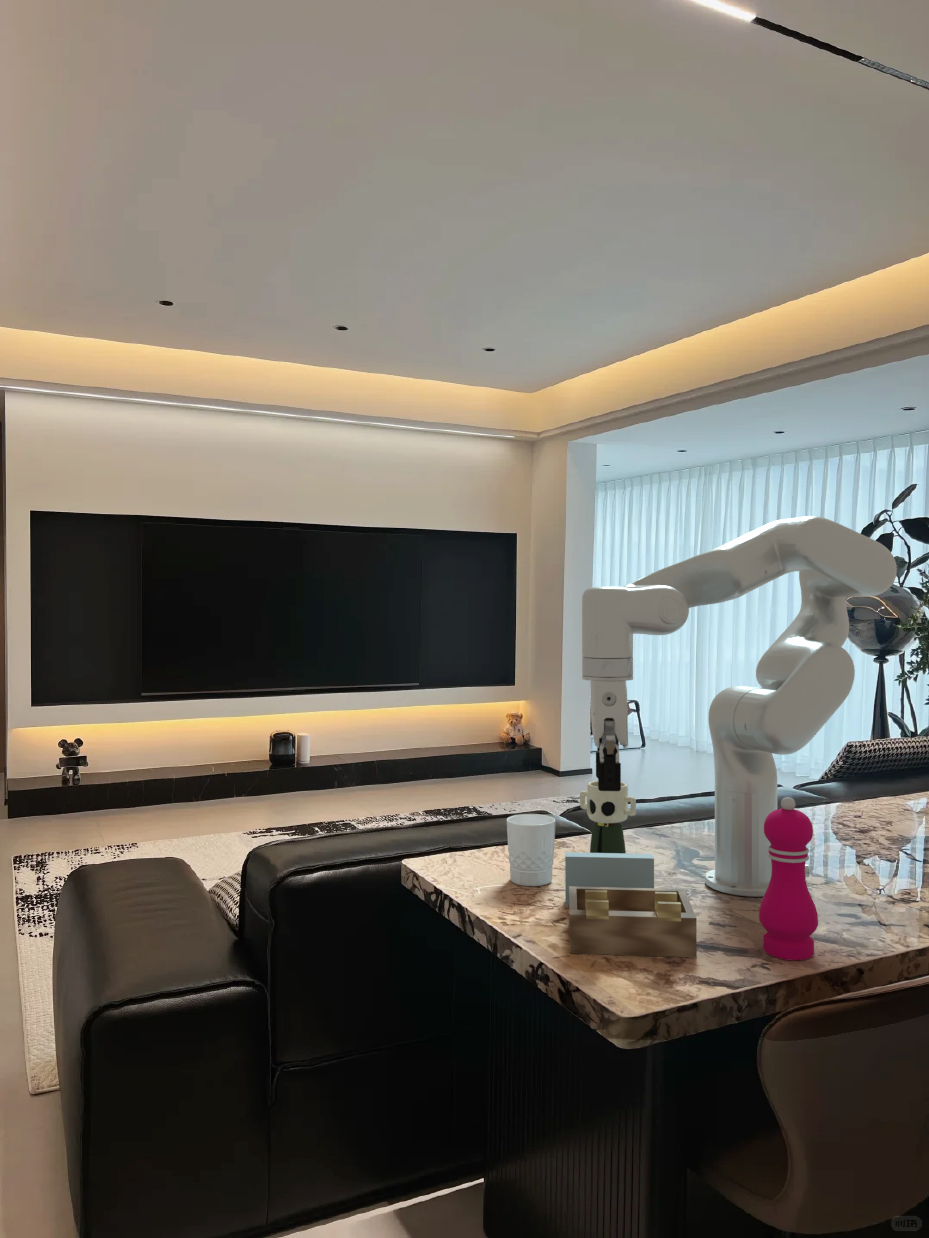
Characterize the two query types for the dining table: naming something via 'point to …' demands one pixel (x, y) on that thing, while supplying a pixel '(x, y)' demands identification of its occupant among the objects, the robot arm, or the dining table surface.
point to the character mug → (607, 816)
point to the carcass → (631, 922)
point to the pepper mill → (788, 886)
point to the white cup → (531, 848)
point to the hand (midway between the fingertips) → (607, 784)
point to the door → (608, 870)
